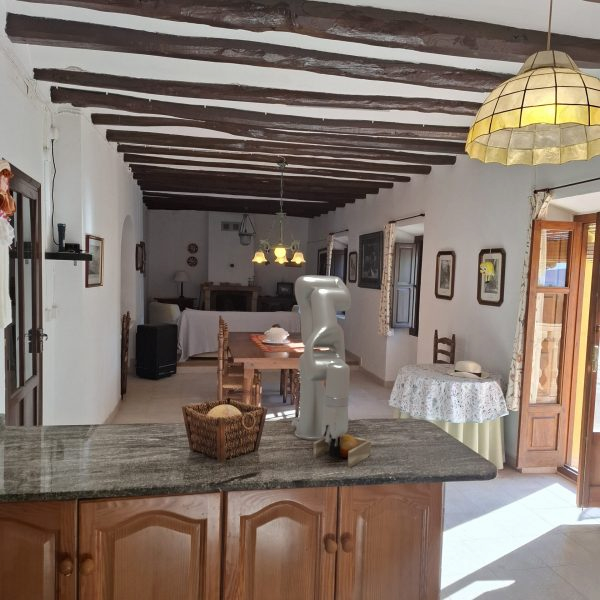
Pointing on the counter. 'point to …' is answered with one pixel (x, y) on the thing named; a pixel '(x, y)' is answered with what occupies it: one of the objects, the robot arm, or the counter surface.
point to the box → (353, 455)
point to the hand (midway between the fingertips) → (334, 456)
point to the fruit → (347, 445)
